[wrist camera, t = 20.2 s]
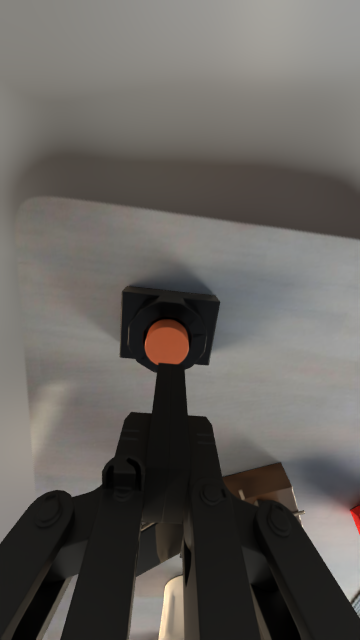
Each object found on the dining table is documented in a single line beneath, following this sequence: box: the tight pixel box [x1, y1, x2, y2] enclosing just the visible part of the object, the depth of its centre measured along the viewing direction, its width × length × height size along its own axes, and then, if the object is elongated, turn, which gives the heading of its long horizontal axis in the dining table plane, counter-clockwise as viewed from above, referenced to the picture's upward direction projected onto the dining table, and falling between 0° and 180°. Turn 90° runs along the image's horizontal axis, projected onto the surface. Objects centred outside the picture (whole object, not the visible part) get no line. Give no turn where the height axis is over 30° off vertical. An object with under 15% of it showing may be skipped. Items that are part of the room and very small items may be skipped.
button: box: [145, 319, 189, 365], centre depth 18 cm, size 3×3×2 cm
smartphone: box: [136, 522, 184, 577], centre depth 33 cm, size 7×1×15 cm
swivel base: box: [222, 462, 305, 528], centre depth 29 cm, size 12×12×3 cm
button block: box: [120, 286, 220, 372], centre depth 20 cm, size 8×6×4 cm
